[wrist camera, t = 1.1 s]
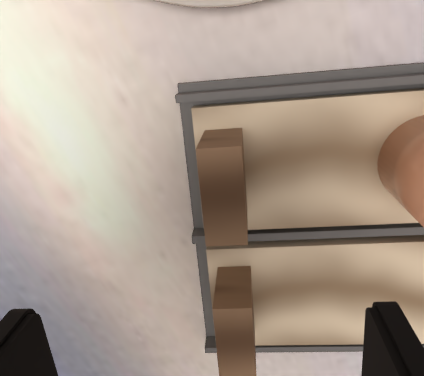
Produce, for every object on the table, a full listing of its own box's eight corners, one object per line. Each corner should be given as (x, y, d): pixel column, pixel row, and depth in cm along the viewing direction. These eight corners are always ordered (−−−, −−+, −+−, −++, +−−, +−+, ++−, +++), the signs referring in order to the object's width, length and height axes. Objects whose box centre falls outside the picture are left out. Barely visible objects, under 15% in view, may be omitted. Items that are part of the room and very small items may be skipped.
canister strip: (516, 210, 27) (590, 256, 21) (205, 224, 29) (196, 268, 24) (542, 78, 24) (636, 89, 18) (193, 105, 26) (179, 122, 20)
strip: (492, 331, 31) (550, 398, 25) (217, 335, 33) (211, 397, 27) (512, 230, 27) (583, 279, 22) (207, 242, 30) (198, 289, 24)
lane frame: (496, 339, 32) (510, 356, 30) (207, 343, 34) (206, 358, 33) (555, 51, 24) (578, 51, 22) (178, 83, 27) (173, 85, 25)
